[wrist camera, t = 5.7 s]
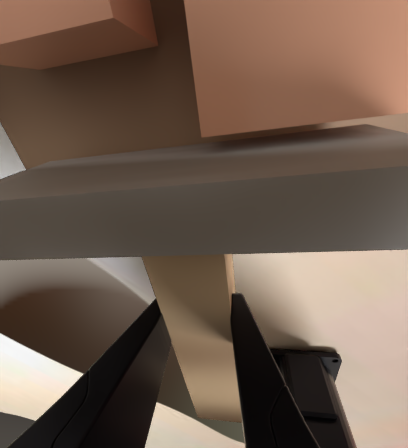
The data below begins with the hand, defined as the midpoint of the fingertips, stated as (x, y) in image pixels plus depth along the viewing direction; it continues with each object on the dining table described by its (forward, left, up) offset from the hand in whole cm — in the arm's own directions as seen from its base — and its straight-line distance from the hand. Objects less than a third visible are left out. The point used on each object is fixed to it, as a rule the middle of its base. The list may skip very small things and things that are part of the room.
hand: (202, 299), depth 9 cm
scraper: (-1, 0, -2) cm, 2 cm away
